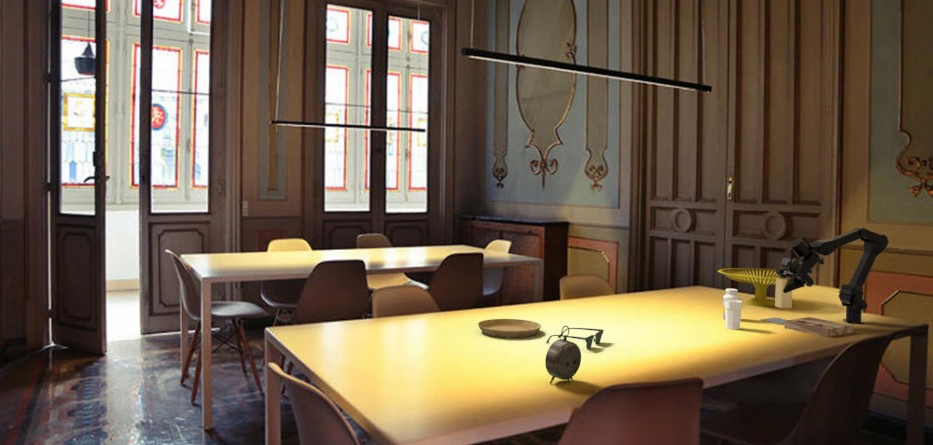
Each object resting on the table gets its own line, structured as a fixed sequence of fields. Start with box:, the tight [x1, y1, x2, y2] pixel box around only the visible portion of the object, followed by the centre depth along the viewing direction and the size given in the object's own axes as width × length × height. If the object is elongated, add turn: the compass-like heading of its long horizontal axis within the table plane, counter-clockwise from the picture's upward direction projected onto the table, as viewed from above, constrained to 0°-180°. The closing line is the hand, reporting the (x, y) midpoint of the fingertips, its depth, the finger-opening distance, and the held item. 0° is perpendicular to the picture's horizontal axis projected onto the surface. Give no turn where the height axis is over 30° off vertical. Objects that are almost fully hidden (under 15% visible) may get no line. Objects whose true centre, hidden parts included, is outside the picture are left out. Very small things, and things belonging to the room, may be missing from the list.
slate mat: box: [759, 317, 787, 325], centre depth 282 cm, size 10×10×1 cm
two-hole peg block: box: [783, 316, 854, 338], centre depth 265 cm, size 16×18×3 cm
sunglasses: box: [545, 327, 605, 350], centre depth 238 cm, size 16×17×5 cm
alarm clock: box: [544, 325, 582, 385], centre depth 190 cm, size 11×5×16 cm, turn 129°
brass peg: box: [774, 278, 793, 309], centre depth 277 cm, size 4×4×12 cm
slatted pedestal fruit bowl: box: [717, 267, 790, 307], centre depth 326 cm, size 40×40×15 cm
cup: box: [724, 299, 743, 330], centre depth 267 cm, size 7×7×11 cm
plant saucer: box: [477, 318, 542, 339], centre depth 255 cm, size 24×24×3 cm
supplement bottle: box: [722, 288, 741, 320], centre depth 286 cm, size 7×7×13 cm
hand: (780, 291), depth 277 cm, fingers closed on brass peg, 4 cm apart
